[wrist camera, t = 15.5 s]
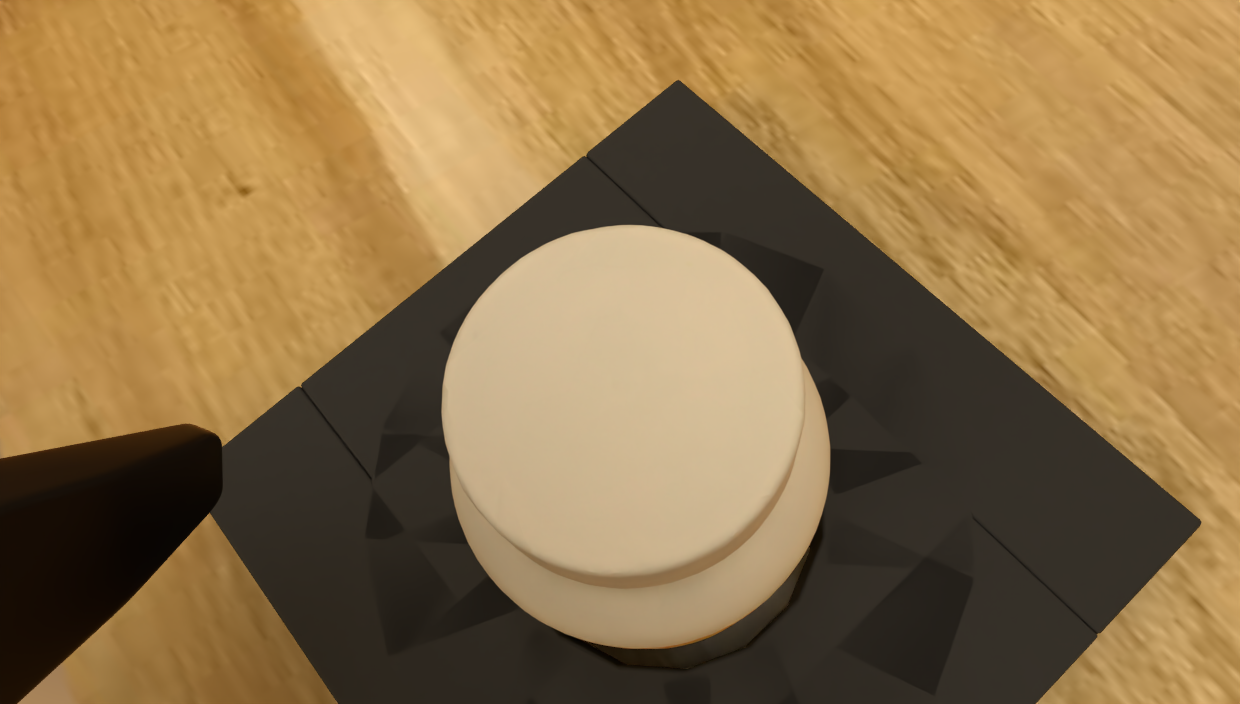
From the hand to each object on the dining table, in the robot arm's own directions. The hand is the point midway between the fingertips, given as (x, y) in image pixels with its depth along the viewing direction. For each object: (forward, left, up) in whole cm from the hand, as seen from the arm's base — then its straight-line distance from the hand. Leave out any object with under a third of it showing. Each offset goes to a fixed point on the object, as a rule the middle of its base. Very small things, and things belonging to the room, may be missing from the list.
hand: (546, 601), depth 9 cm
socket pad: (+2, +1, -8) cm, 9 cm away
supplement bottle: (+2, +1, -9) cm, 9 cm away
